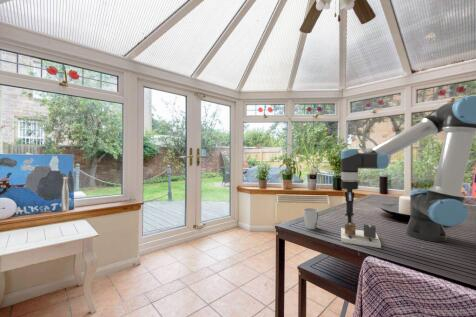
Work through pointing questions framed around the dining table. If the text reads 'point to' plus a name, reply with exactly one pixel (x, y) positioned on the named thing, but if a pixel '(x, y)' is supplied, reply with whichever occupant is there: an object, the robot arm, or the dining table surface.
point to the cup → (310, 217)
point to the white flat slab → (360, 239)
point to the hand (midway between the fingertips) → (349, 228)
